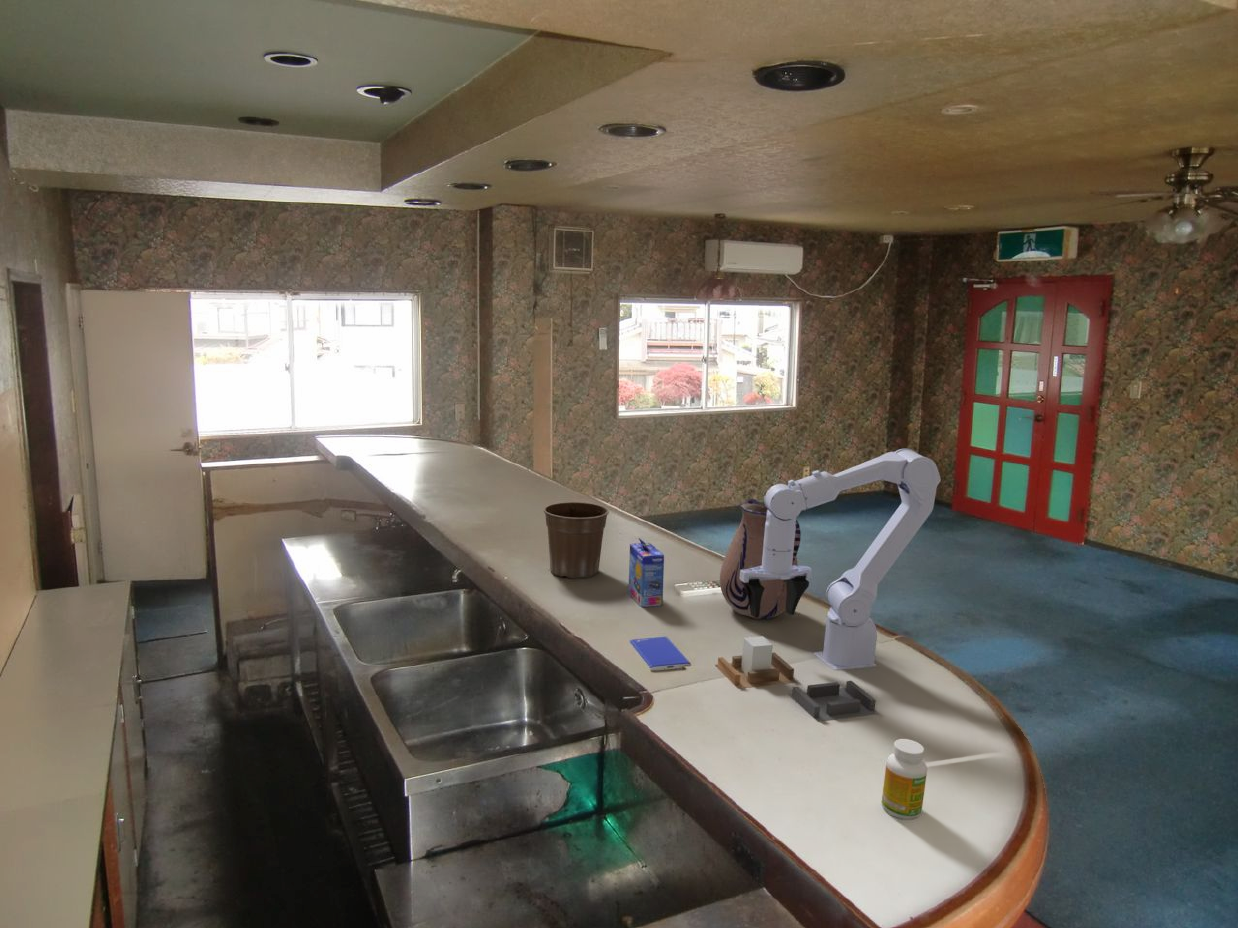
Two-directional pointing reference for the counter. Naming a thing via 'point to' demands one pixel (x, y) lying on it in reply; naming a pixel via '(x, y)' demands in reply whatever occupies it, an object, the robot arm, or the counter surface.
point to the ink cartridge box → (646, 574)
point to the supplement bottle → (905, 780)
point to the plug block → (756, 654)
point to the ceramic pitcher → (753, 564)
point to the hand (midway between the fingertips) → (772, 614)
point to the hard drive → (659, 653)
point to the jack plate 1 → (757, 673)
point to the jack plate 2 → (834, 701)
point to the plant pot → (575, 538)
